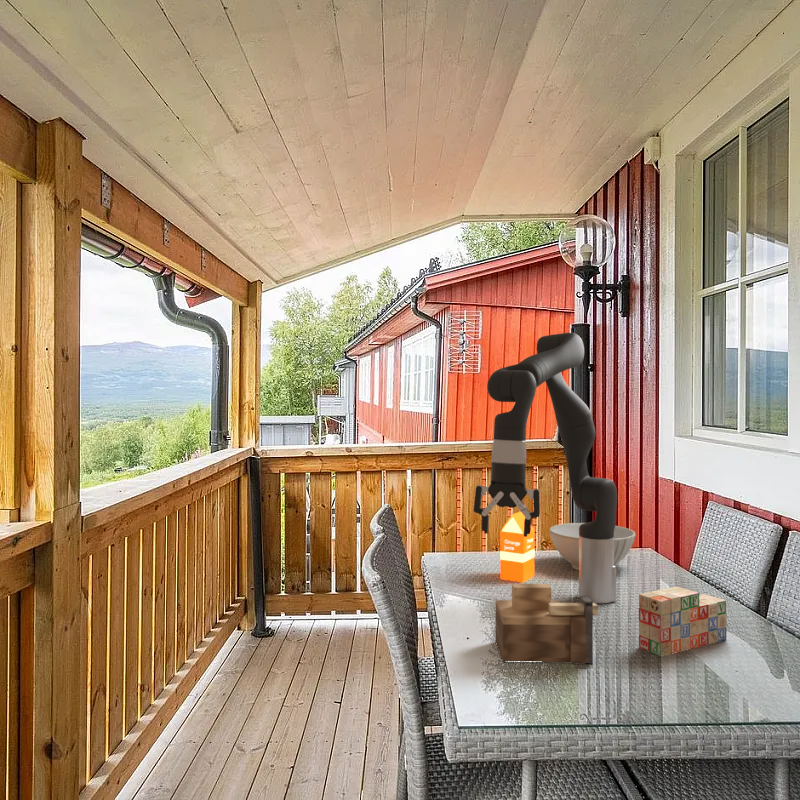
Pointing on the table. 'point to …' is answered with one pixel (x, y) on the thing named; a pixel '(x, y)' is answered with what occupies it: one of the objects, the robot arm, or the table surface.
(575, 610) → the light wooden plank
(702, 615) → the stack of blocks
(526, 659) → the brown wooden box
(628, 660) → the table surface
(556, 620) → the lid
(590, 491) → the robot arm
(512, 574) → the orange juice
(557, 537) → the decorative bowl
